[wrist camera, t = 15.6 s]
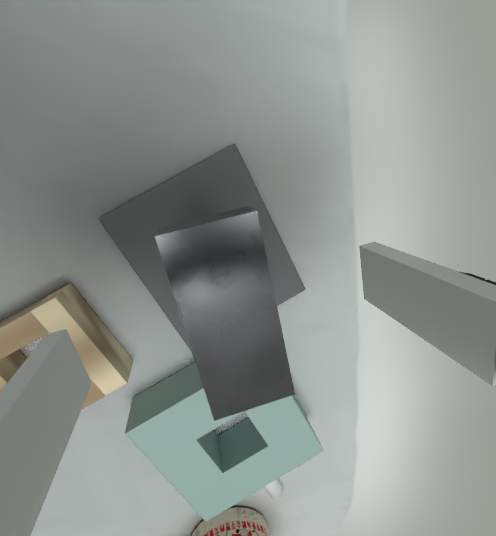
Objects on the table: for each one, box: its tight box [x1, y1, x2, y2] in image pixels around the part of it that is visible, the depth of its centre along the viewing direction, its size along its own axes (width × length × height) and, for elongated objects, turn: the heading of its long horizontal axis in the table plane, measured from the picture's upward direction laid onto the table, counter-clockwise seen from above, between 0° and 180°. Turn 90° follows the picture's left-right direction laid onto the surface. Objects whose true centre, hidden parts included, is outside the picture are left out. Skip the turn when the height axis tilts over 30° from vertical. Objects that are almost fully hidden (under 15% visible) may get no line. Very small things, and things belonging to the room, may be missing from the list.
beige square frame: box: [0, 283, 133, 410], centre depth 23 cm, size 8×8×3 cm
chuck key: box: [155, 206, 295, 421], centre depth 19 cm, size 4×9×12 cm, turn 12°
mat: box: [98, 144, 305, 351], centre depth 24 cm, size 13×11×1 cm
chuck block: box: [125, 362, 324, 522], centre depth 28 cm, size 16×12×4 cm
